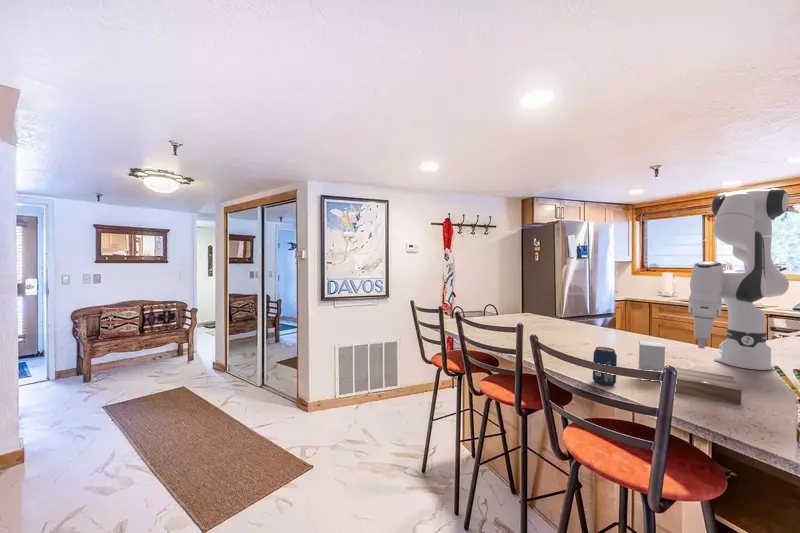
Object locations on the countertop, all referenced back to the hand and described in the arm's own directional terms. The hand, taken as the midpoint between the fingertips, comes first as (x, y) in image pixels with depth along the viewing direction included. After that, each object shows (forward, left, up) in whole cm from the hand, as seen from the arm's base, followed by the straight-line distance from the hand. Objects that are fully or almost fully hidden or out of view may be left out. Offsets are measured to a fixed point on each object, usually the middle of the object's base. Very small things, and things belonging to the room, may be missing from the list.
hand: (701, 347), depth 129 cm
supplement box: (+6, -14, -13) cm, 20 cm away
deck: (+6, +1, -12) cm, 14 cm away
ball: (+12, +1, -11) cm, 16 cm away
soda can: (+24, -26, -13) cm, 38 cm away
